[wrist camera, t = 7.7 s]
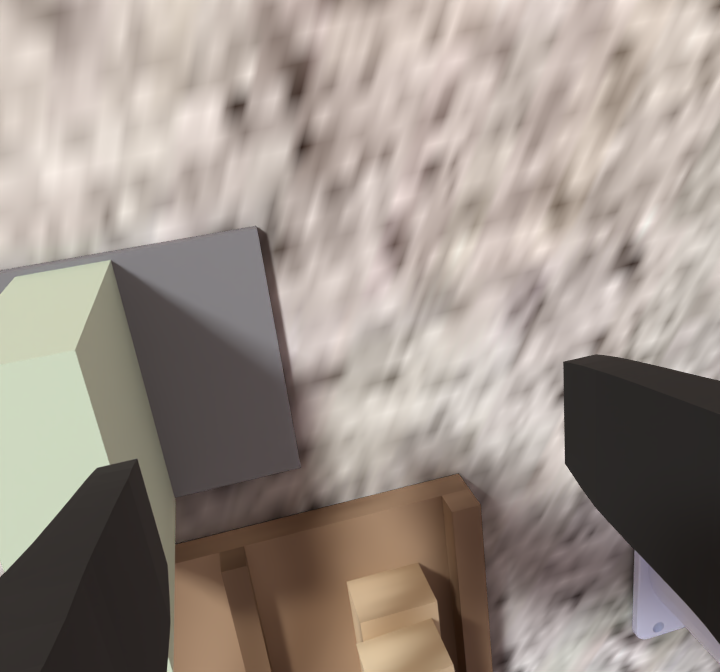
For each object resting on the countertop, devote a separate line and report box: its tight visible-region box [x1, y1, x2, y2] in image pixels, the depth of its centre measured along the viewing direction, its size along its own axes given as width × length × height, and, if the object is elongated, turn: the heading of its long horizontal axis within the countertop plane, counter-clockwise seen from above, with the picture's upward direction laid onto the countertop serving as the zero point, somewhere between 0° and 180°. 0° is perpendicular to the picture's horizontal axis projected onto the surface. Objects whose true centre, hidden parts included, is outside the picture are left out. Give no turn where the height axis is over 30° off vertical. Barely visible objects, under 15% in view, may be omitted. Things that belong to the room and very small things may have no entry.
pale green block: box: [0, 260, 176, 672], centre depth 17 cm, size 2×8×7 cm, turn 7°
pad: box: [0, 226, 301, 498], centre depth 20 cm, size 10×8×1 cm
